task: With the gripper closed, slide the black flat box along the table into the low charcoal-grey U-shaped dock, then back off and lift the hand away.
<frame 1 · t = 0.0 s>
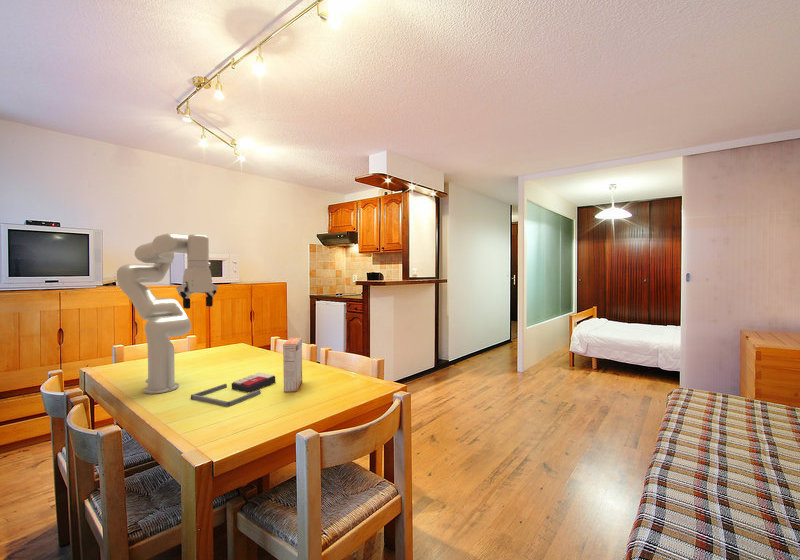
hand: (198, 307, 140), 37 cm above the table, tool pointing down, fingers open, 9 cm apart
cracker box: (293, 387, 154), on the table
black flat box: (254, 387, 155), on the table
dock: (227, 395, 143), on the table
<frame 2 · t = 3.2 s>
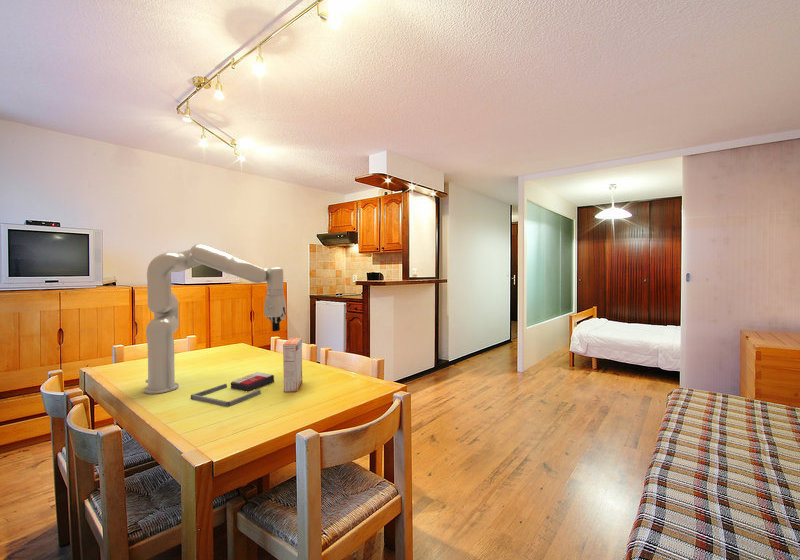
hand: (276, 330, 167), 23 cm above the table, tool pointing down, fingers closed
black flat box: (253, 386, 156), on the table
everything else where it was.
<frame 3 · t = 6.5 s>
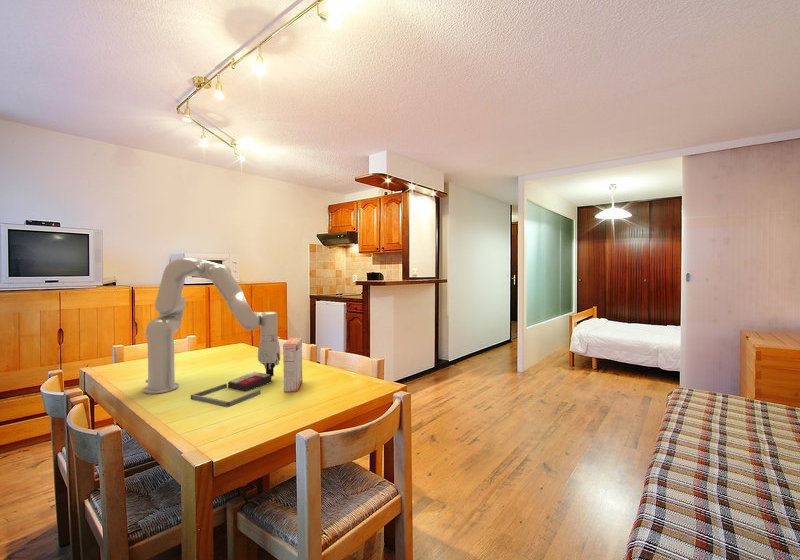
hand: (269, 376, 164), 2 cm above the table, tool pointing down, fingers closed
black flat box: (250, 386, 157), on the table, touching gripper
everything else where it was.
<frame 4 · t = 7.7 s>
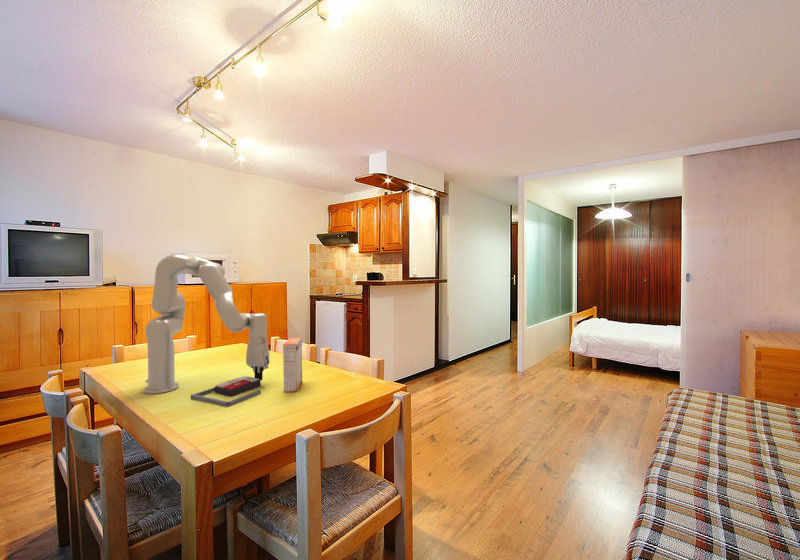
hand: (258, 380, 157), 2 cm above the table, tool pointing down, fingers closed
black flat box: (238, 390, 150), on the table
everything else where it was.
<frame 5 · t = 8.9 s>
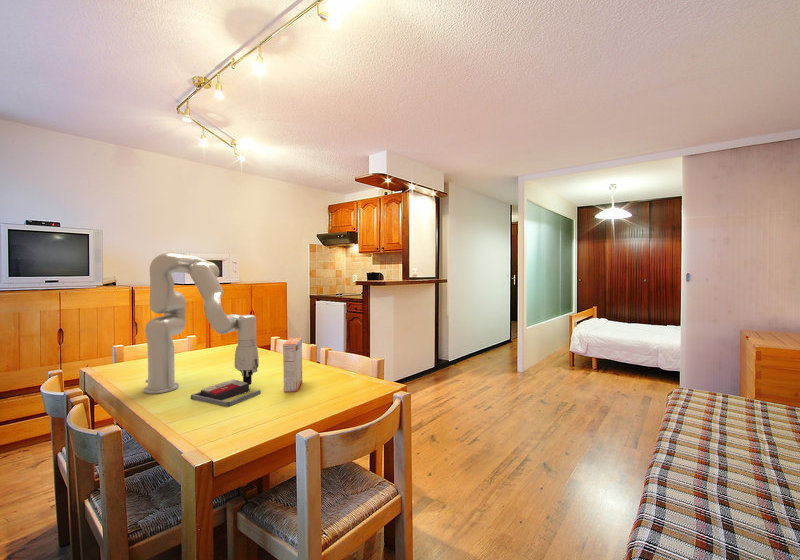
hand: (247, 384, 152), 2 cm above the table, tool pointing down, fingers closed
black flat box: (225, 395, 145), on the table
everything else where it was.
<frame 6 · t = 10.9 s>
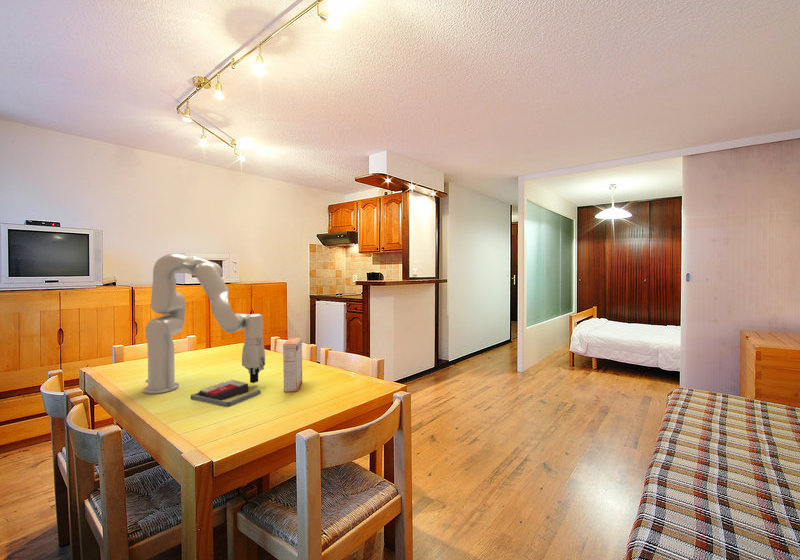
hand: (254, 382, 155), 2 cm above the table, tool pointing down, fingers closed
nothing on the table moved.
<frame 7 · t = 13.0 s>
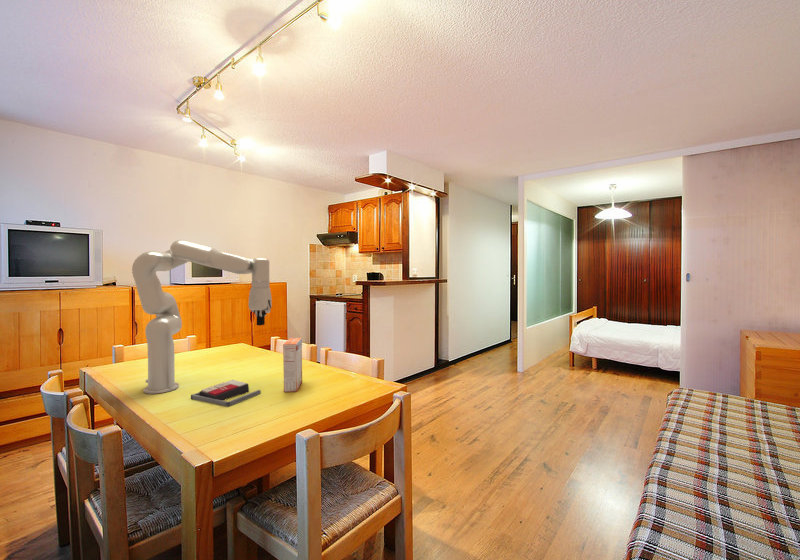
hand: (260, 325, 159), 27 cm above the table, tool pointing down, fingers closed
nothing on the table moved.
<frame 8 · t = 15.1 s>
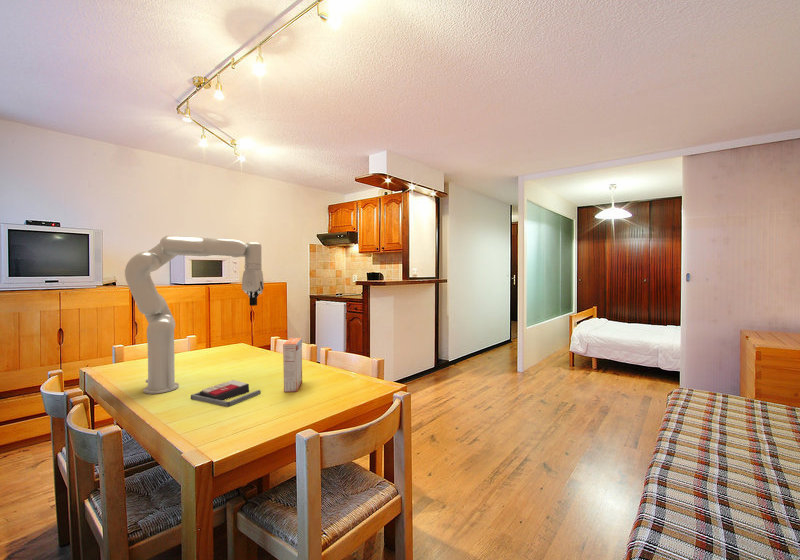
hand: (253, 305, 168), 35 cm above the table, tool pointing down, fingers closed
nothing on the table moved.
at the end: black flat box inside the target area on the dock (2.3 cm from its centre), point -0.7 cm above the dock's base; black flat box moved 13.5 cm from its start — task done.
